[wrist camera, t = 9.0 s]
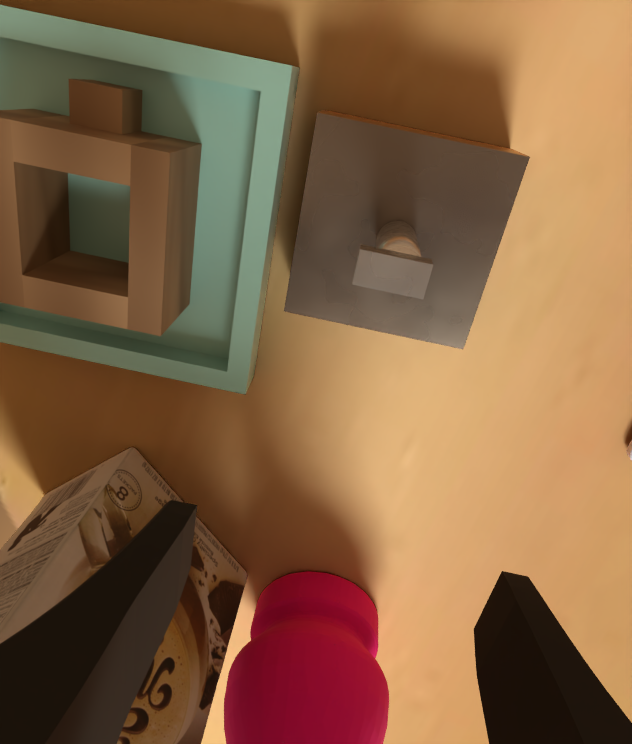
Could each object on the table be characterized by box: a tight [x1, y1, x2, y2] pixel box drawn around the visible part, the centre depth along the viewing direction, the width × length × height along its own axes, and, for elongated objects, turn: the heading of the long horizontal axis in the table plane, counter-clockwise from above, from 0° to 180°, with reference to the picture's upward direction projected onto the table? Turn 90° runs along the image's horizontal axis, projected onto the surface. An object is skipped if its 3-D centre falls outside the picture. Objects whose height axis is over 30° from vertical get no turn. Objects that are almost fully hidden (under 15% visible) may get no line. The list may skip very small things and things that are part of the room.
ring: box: [0, 79, 202, 336], centre depth 17 cm, size 6×7×3 cm
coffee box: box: [0, 447, 247, 744], centre depth 20 cm, size 9×6×16 cm
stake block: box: [284, 110, 530, 349], centre depth 16 cm, size 6×6×6 cm
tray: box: [0, 5, 300, 395], centre depth 19 cm, size 11×11×2 cm
